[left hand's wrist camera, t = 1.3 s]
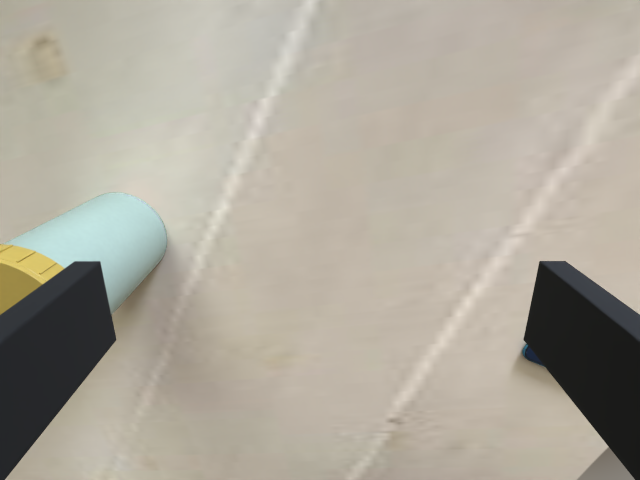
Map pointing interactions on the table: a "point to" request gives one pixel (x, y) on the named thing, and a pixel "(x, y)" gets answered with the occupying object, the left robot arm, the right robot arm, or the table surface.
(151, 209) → the jar
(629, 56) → the table surface
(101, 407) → the table surface
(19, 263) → the lid
